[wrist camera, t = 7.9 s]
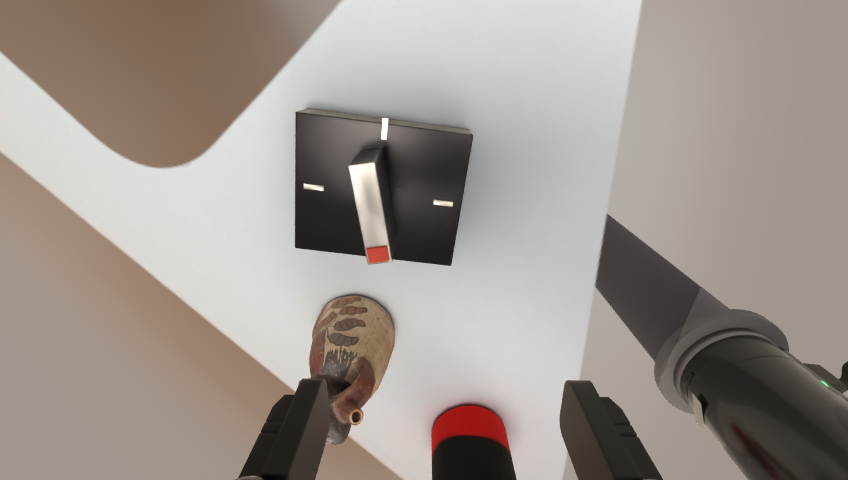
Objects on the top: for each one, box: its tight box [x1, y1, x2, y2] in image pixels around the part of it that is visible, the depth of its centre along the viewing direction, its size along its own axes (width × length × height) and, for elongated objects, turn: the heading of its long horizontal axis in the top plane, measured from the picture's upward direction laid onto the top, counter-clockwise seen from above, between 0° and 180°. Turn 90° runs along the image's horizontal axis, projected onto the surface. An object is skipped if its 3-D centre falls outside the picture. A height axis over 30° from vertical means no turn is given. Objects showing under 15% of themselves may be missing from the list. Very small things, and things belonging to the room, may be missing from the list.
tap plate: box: [295, 108, 473, 266], centre depth 30 cm, size 12×11×3 cm
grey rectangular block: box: [348, 148, 397, 264], centre depth 27 cm, size 6×2×5 cm, turn 7°
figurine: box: [299, 295, 394, 445], centre depth 31 cm, size 7×7×12 cm
